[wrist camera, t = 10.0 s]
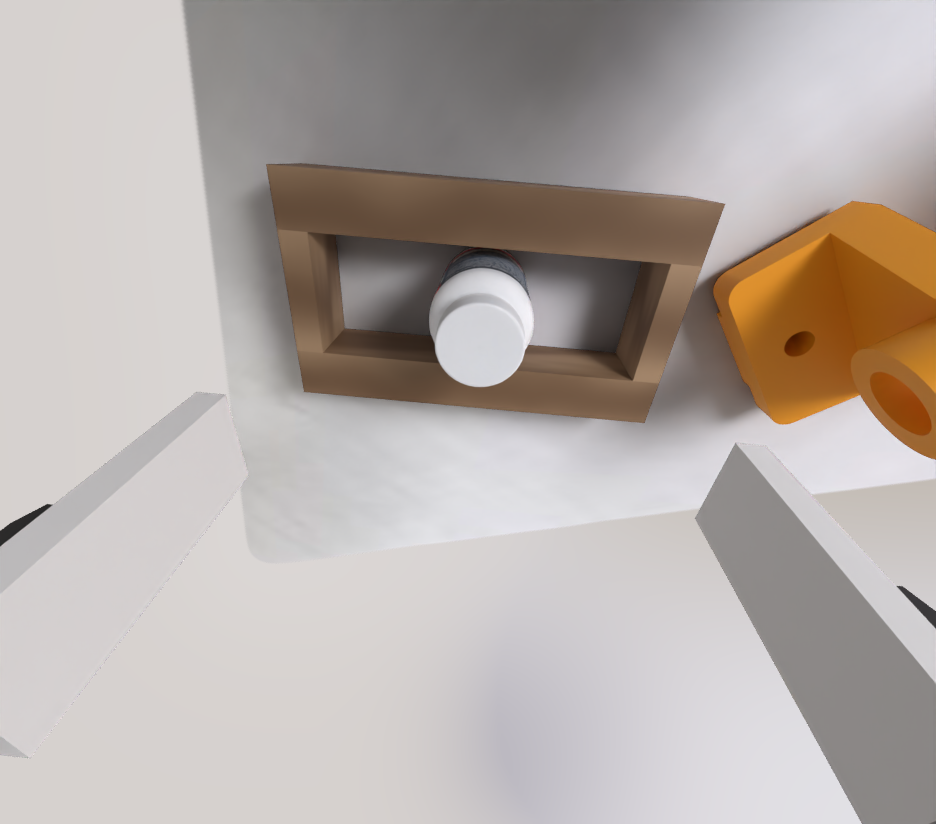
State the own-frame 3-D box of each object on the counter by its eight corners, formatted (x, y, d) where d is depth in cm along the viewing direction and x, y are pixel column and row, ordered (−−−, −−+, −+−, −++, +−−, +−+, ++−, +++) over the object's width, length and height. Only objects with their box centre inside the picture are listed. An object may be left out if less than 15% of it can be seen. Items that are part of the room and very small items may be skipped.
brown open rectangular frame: (301, 163, 22) (266, 164, 19) (689, 196, 22) (725, 203, 18) (327, 363, 28) (304, 391, 25) (626, 391, 28) (644, 422, 25)
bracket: (701, 277, 24) (853, 365, 14) (840, 199, 22) (1148, 236, 11) (753, 407, 28) (897, 546, 18) (873, 355, 26) (1117, 482, 16)
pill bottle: (433, 253, 24) (404, 296, 17) (521, 236, 23) (533, 273, 16) (451, 336, 27) (434, 406, 19) (531, 323, 26) (545, 391, 18)
